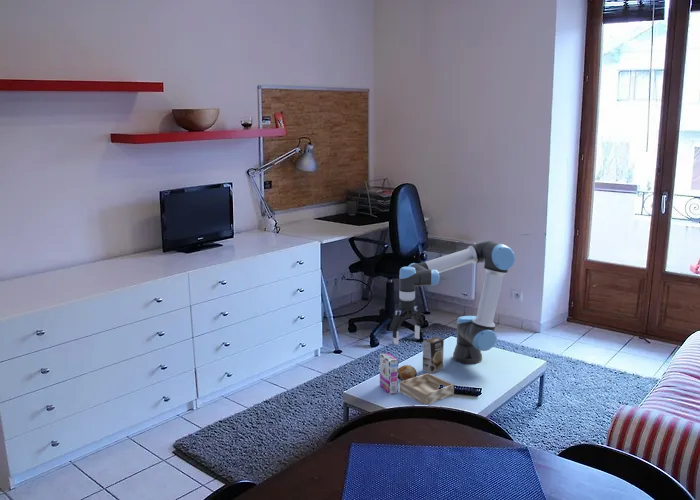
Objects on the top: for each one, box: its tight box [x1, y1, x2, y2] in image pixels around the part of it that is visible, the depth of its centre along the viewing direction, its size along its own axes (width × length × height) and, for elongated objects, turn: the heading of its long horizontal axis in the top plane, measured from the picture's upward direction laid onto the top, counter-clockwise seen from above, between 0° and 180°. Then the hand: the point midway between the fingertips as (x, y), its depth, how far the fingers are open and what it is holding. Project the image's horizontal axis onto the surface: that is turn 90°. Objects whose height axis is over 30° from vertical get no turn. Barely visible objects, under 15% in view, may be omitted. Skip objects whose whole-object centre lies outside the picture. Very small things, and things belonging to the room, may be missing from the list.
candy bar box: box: [379, 352, 399, 396], centre depth 289 cm, size 11×5×16 cm, turn 21°
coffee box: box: [422, 336, 445, 375], centre depth 312 cm, size 9×6×16 cm
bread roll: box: [398, 364, 418, 381], centre depth 304 cm, size 10×10×8 cm
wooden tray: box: [399, 372, 455, 406], centre depth 285 cm, size 18×18×5 cm
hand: (406, 341), depth 301 cm, fingers open, 13 cm apart
